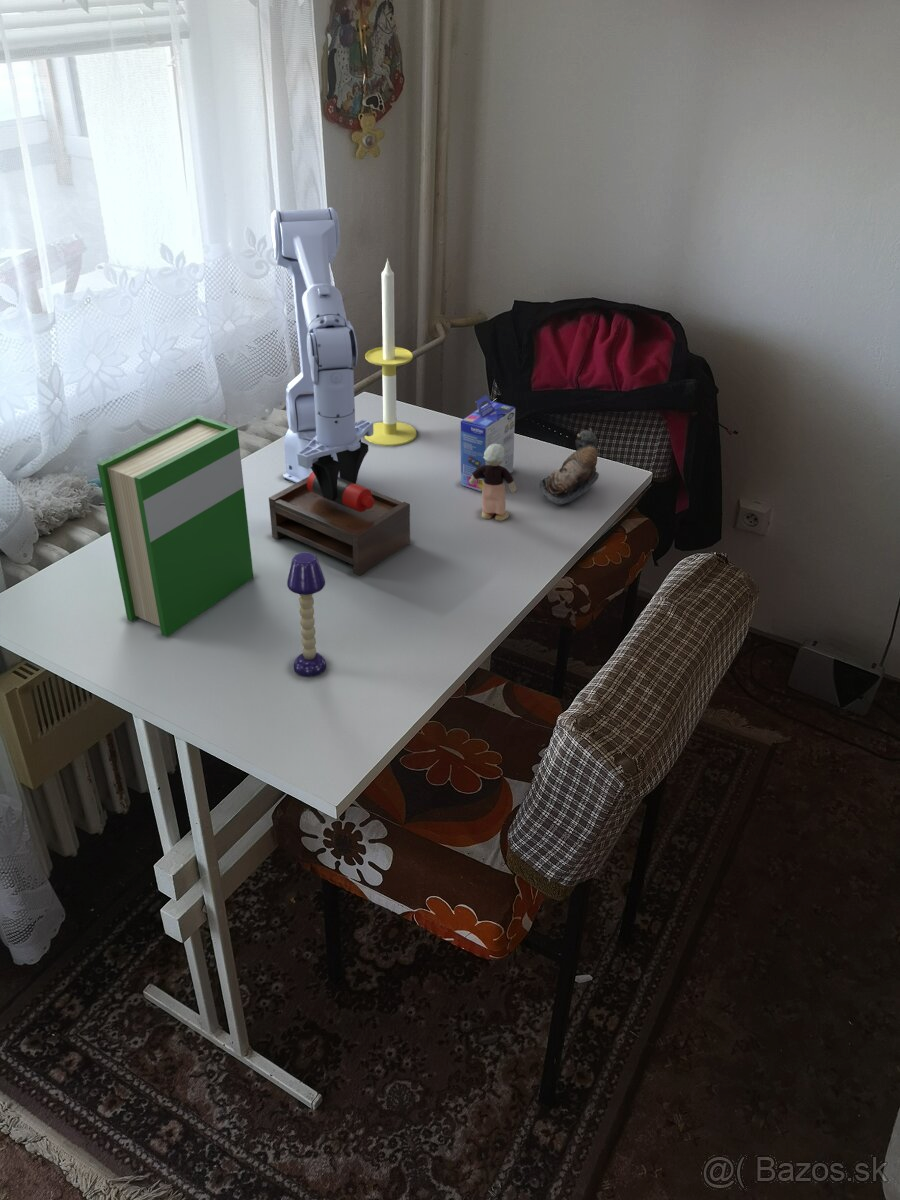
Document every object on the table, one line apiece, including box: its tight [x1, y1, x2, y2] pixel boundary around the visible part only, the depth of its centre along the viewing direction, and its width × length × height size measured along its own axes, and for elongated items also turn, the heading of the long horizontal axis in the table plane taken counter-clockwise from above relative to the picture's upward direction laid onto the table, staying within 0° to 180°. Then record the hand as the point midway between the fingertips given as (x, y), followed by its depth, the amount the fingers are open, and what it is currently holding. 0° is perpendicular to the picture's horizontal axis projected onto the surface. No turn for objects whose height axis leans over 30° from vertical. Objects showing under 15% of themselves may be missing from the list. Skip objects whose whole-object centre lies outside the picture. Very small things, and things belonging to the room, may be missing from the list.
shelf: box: [268, 477, 411, 577], centre depth 159 cm, size 18×12×7 cm, turn 53°
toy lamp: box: [286, 551, 327, 678], centre depth 130 cm, size 5×5×17 cm
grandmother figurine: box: [469, 443, 517, 522], centre depth 164 cm, size 8×4×13 cm, turn 84°
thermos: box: [307, 472, 374, 512], centre depth 155 cm, size 11×4×4 cm, turn 53°
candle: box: [363, 257, 417, 447], centre depth 183 cm, size 10×10×32 cm
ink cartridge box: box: [460, 394, 516, 493], centre depth 174 cm, size 10×6×14 cm, turn 147°
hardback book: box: [96, 414, 254, 638], centre depth 140 cm, size 18×7×24 cm, turn 148°
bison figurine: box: [539, 427, 600, 506], centre depth 171 cm, size 12×7×10 cm, turn 142°
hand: (338, 492), depth 156 cm, fingers closed on thermos, 4 cm apart
